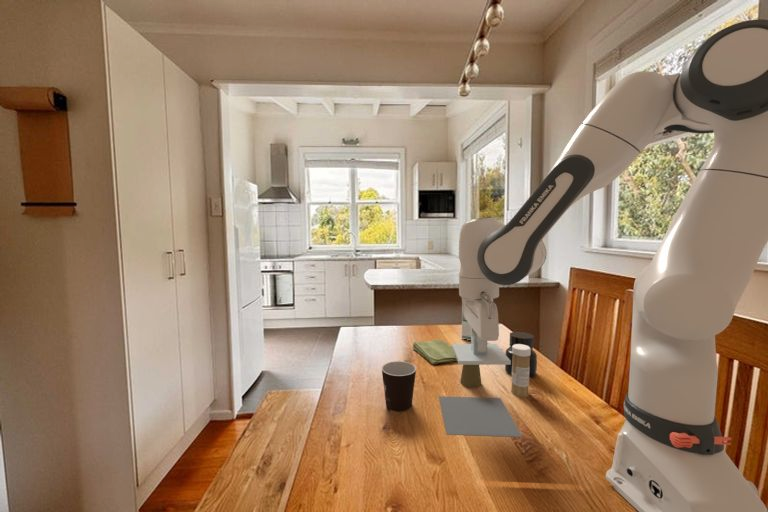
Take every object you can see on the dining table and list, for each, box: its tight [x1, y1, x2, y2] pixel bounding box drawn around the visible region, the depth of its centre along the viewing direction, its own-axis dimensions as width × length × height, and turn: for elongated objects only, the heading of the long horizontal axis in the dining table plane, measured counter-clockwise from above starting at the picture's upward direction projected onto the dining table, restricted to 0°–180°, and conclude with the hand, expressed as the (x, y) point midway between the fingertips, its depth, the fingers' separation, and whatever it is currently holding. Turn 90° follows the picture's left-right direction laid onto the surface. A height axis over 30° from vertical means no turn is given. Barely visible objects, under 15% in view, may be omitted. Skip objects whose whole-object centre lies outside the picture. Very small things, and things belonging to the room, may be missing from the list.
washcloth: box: [412, 339, 457, 365], centre depth 116 cm, size 13×18×3 cm
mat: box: [438, 395, 523, 438], centre depth 77 cm, size 16×16×1 cm
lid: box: [451, 335, 511, 366], centre depth 76 cm, size 11×11×4 cm
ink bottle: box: [504, 331, 538, 379], centre depth 101 cm, size 10×9×12 cm
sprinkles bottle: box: [510, 344, 531, 398], centre depth 87 cm, size 5×5×13 cm
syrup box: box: [460, 306, 472, 341], centre depth 132 cm, size 6×6×14 cm
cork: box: [459, 365, 482, 389], centre depth 93 cm, size 6×6×11 cm
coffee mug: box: [381, 360, 417, 413], centre depth 83 cm, size 12×9×10 cm
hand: (479, 347), depth 76 cm, fingers closed on lid, 3 cm apart
